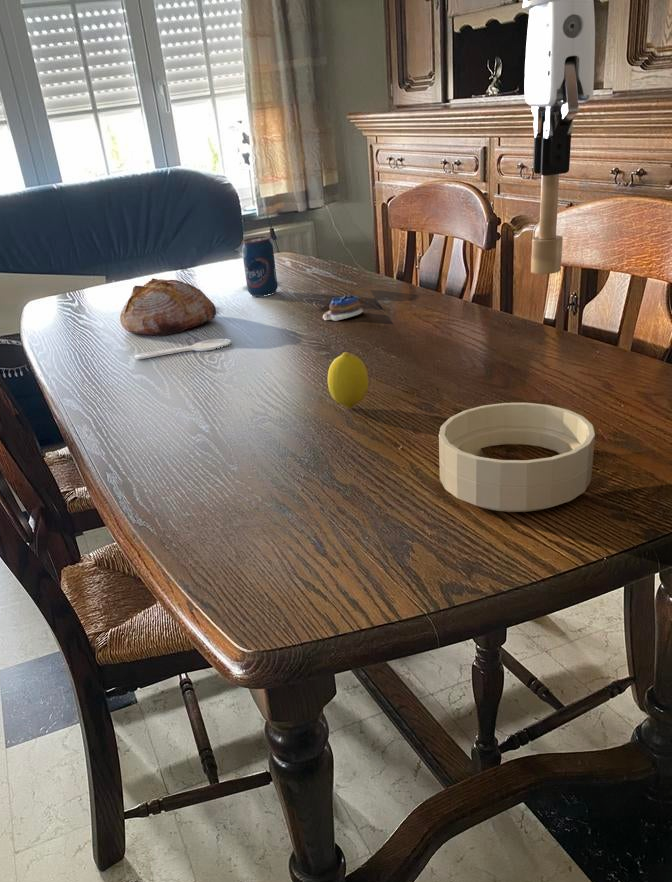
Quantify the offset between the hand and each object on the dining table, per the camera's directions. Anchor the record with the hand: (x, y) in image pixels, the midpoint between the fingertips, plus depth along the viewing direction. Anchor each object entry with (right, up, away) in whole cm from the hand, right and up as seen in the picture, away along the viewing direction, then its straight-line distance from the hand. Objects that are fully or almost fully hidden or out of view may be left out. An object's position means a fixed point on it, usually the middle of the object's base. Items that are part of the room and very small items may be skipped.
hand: (550, 171), depth 89 cm
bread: (-56, -2, +66) cm, 87 cm away
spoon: (-51, -11, +49) cm, 71 cm away
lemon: (-23, -26, +14) cm, 38 cm away
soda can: (-37, +9, +82) cm, 90 cm away
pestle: (+1, -10, +6) cm, 12 cm away
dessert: (-21, -2, +57) cm, 61 cm away
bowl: (-7, -37, -9) cm, 39 cm away
